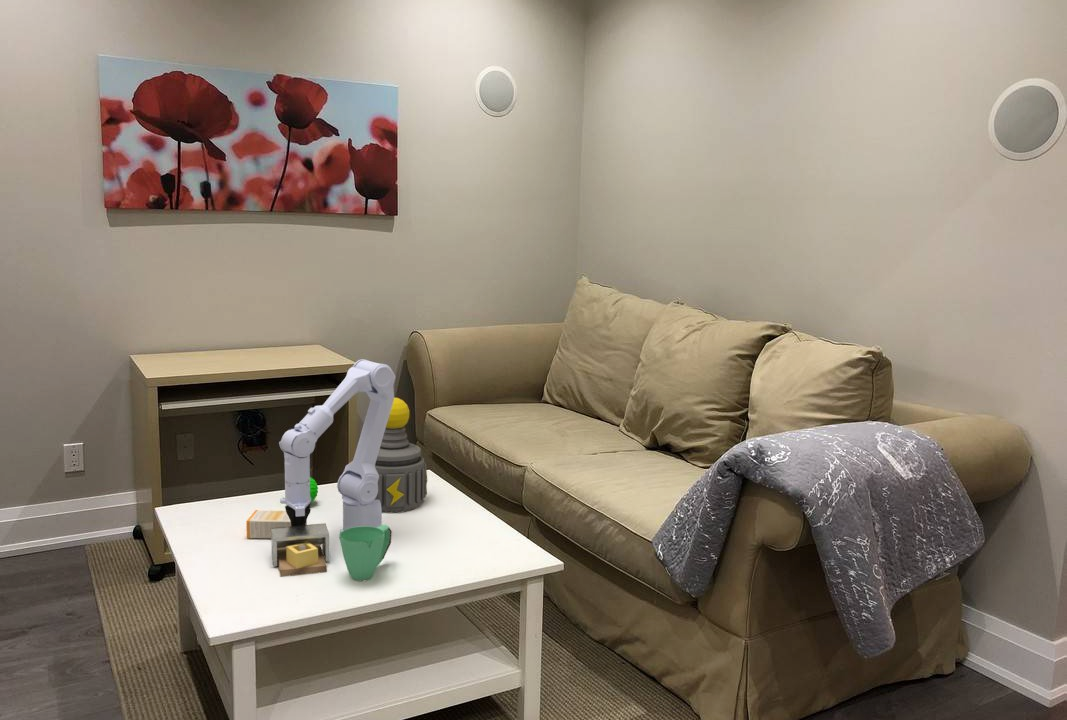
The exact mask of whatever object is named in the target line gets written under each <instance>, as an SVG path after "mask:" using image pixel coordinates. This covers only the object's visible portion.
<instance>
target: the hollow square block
mask: <svg viewBox="0 0 1067 720" xmlns="http://www.w3.org/2000/svg"><path fill="white" fill-rule="evenodd" d="M300 545H305V546H306V550H302V551H299V546H300ZM286 555H287V562H288V563H290V564H291V565H292V566H294V567H295V568H296V569H297V568H301V567H305V566H309V565H313V564H318V548H316V547H315V546H313V545H312V544H310V543H309V542H304V543H300V544H295V545H291V546H287V547H286Z"/></svg>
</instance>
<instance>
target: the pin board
mask: <svg viewBox="0 0 1067 720" xmlns="http://www.w3.org/2000/svg"><path fill="white" fill-rule="evenodd" d="M313 546H315V547H316V548H318V564H313V565H309V566H305V567H301V568H297V569H296V568H295V567H294V566H292V565H291V564H290V563H288V562H287V555H286V547H285V548H277V565H278V568H279V575H280V577H289V575H290V576H298V575H301V576H302V575H309V574H310V573H311V574H320V573H327V561H325V557H324V554H323V551H322V544H317V545H313ZM302 550H306V546H305V545H300V546H299V551H302ZM319 572H320V573H319Z"/></svg>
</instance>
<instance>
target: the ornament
mask: <svg viewBox="0 0 1067 720" xmlns="http://www.w3.org/2000/svg"><path fill="white" fill-rule="evenodd" d="M318 489H319V487H318V483H317V482H316V480H315V479H314V478H313V477H311V476H310V497H311V502H310V503H309V504H311V503H312V502H314V500H315V499H316V498H317V496H318V493H319V491H318Z"/></svg>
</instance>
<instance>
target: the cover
mask: <svg viewBox="0 0 1067 720" xmlns="http://www.w3.org/2000/svg"><path fill="white" fill-rule="evenodd" d="M270 540H271V541H270V542H271V558H272V566H273V567H277V566H278V558H277V548H285V547H287V546H291V545H295V544H300V543H304V542H309V543H310V544H312V545H317V544H320V545H321V549H322V552H323V555H324V559H325V562H330V532H329V529H328V527H327V524H326V523H325V522H324V523H315V524H313V523H312V524H307V525H299V526H287V527H275V528H271V538H270Z"/></svg>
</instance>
